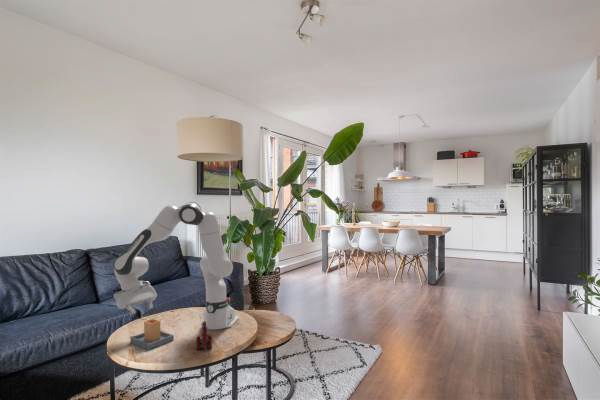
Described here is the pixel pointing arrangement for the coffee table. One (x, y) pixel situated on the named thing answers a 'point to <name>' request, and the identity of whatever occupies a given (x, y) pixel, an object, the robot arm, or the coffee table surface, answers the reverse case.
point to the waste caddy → (152, 330)
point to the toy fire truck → (204, 339)
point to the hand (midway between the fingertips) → (143, 310)
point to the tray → (149, 345)
